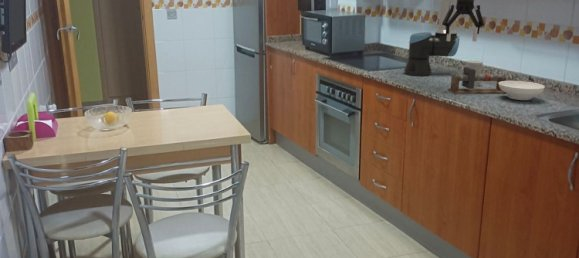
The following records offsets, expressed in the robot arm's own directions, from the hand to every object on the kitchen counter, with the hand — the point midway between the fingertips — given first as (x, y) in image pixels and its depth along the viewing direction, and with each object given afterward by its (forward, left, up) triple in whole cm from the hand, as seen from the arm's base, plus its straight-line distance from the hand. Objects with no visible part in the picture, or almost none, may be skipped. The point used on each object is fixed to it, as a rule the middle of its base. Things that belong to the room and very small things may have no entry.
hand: (461, 41), depth 253 cm
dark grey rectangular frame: (0, +5, -22) cm, 23 cm away
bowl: (+16, +24, -25) cm, 38 cm away
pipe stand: (0, +11, -24) cm, 27 cm away
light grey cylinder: (-18, +16, -25) cm, 34 cm away
